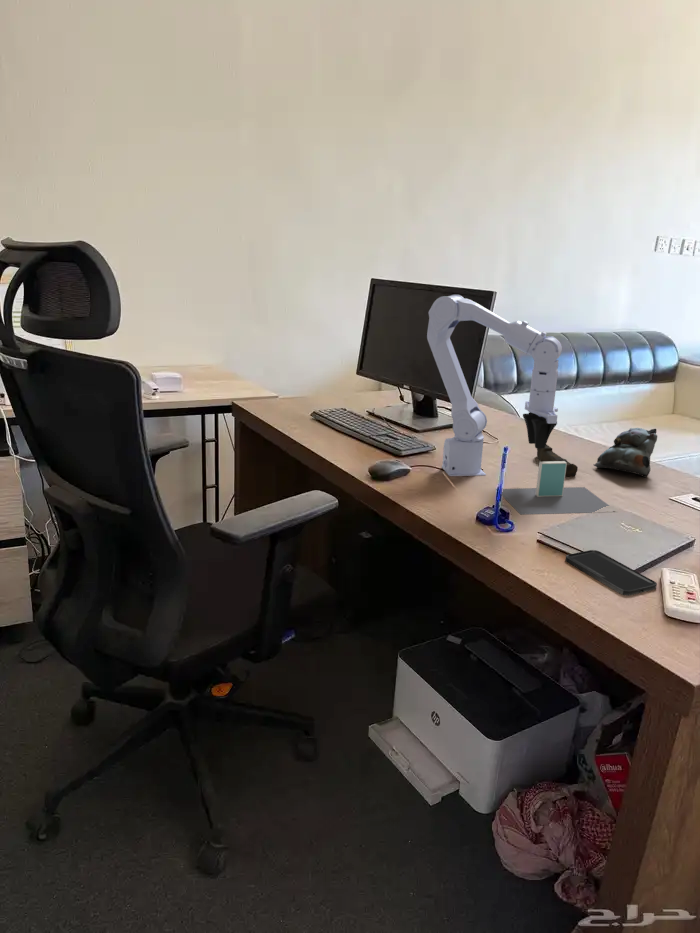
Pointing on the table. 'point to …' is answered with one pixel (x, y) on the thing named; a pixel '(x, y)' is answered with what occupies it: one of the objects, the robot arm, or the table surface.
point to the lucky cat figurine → (630, 452)
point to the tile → (551, 478)
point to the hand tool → (549, 455)
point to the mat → (553, 501)
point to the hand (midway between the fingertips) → (536, 445)
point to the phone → (611, 572)
